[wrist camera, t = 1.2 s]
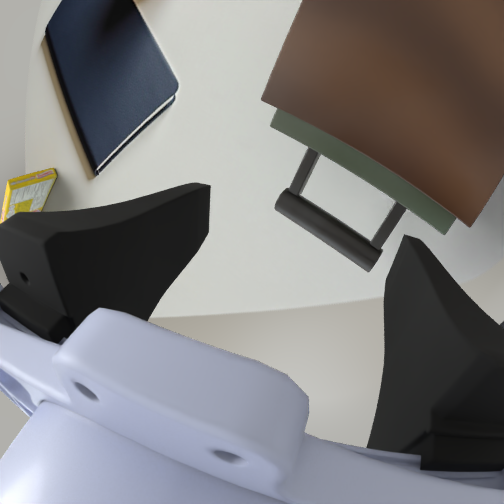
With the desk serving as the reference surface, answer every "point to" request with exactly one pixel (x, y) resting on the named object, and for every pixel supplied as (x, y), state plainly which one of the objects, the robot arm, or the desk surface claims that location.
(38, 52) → the desk surface
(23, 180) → the candy box
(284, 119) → the drawer
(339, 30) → the cabinet
